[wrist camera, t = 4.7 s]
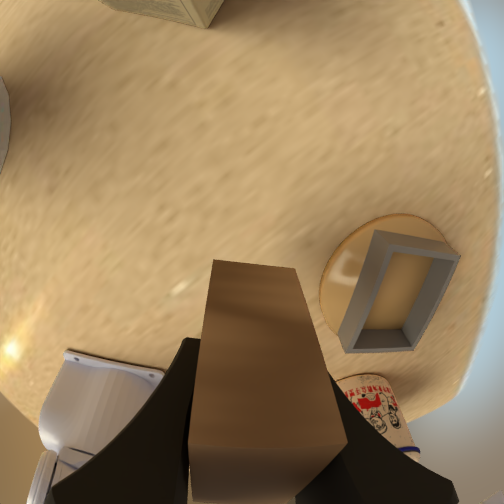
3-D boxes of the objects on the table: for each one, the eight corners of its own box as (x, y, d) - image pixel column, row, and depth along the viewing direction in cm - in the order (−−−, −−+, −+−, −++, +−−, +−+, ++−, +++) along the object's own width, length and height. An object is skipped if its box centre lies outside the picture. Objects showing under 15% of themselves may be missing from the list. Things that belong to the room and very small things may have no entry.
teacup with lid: (399, 360, 22) (448, 467, 12) (381, 411, 26) (411, 497, 16) (267, 387, 23) (279, 515, 12) (276, 433, 27) (286, 528, 16)
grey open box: (302, 336, 20) (310, 364, 18) (342, 200, 16) (360, 217, 13) (412, 336, 21) (426, 358, 19) (461, 227, 17) (485, 243, 14)
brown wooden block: (205, 355, 13) (192, 501, 6) (213, 259, 10) (187, 443, 4) (270, 361, 13) (286, 503, 7) (294, 268, 11) (348, 443, 4)
